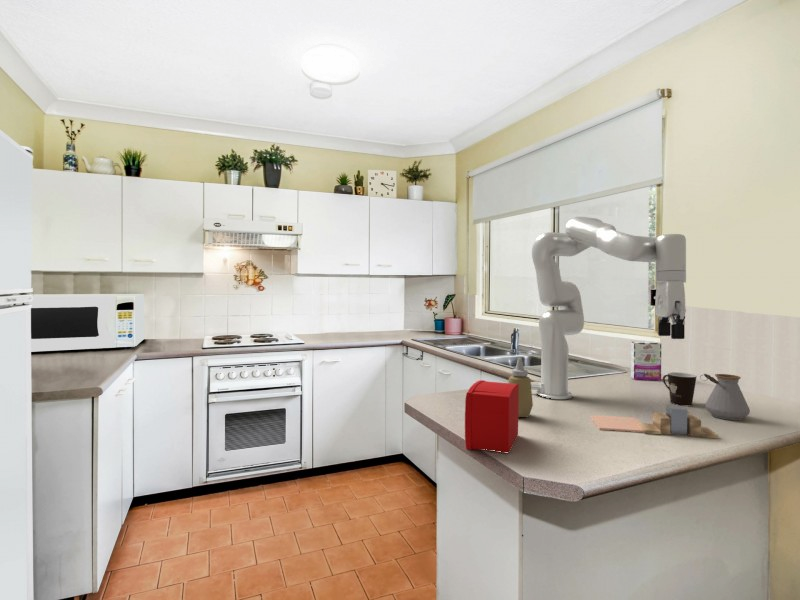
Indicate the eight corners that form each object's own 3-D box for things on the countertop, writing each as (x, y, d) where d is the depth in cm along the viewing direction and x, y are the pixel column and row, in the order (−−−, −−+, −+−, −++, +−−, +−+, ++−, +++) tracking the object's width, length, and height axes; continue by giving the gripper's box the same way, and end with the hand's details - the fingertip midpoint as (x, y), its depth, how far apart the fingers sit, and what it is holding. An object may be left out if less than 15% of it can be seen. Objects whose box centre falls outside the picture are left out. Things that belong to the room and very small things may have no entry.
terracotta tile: (599, 429, 130) (599, 427, 130) (590, 417, 143) (590, 415, 143) (649, 433, 127) (649, 430, 127) (635, 419, 140) (635, 417, 140)
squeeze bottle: (533, 413, 146) (534, 357, 145) (531, 420, 138) (532, 361, 138) (507, 411, 149) (508, 355, 148) (504, 418, 141) (505, 359, 140)
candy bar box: (656, 378, 203) (657, 341, 202) (661, 381, 198) (662, 343, 198) (629, 377, 205) (630, 340, 204) (633, 379, 200) (634, 342, 199)
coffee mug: (700, 407, 155) (701, 377, 155) (672, 405, 157) (672, 376, 156) (686, 398, 166) (686, 371, 166) (660, 397, 168) (660, 370, 168)
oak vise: (644, 433, 127) (645, 417, 126) (637, 426, 133) (637, 410, 133) (718, 438, 123) (718, 421, 123) (706, 430, 130) (706, 414, 130)
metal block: (670, 434, 127) (671, 408, 126) (665, 429, 131) (666, 405, 130) (686, 435, 126) (687, 409, 126) (681, 430, 130) (681, 406, 129)
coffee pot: (714, 409, 152) (716, 364, 151) (756, 418, 142) (757, 370, 142) (681, 419, 140) (683, 370, 140) (724, 429, 131) (726, 377, 130)
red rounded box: (479, 430, 129) (479, 377, 129) (518, 435, 125) (519, 380, 125) (464, 449, 114) (464, 389, 114) (508, 455, 110) (509, 393, 110)
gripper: (646, 278, 141) (646, 334, 141) (668, 276, 124) (668, 340, 124) (673, 278, 140) (673, 334, 140) (698, 276, 123) (698, 340, 123)
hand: (670, 337), depth 132 cm, fingers open, 9 cm apart
